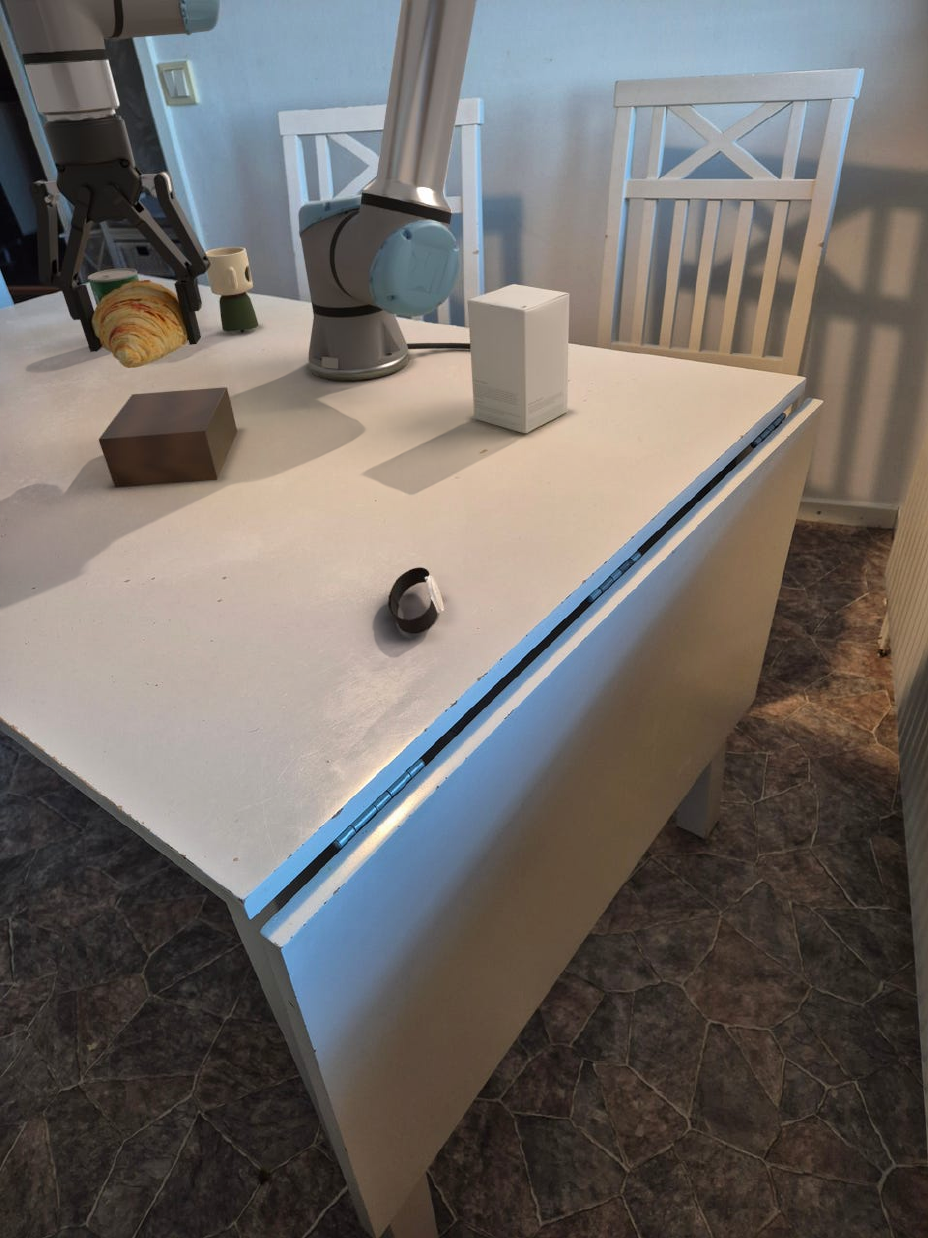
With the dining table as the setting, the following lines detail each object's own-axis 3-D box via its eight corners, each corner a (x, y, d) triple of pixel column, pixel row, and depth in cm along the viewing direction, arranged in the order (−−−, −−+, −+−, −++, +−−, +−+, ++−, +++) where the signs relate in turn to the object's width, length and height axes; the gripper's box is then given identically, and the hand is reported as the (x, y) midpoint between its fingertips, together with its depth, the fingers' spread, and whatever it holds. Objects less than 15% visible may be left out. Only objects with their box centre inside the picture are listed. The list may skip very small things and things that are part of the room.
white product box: (570, 412, 105) (573, 291, 96) (525, 435, 100) (524, 310, 91) (516, 397, 110) (514, 281, 101) (471, 418, 105) (465, 298, 96)
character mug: (267, 334, 140) (251, 254, 132) (225, 341, 138) (207, 260, 130) (256, 319, 148) (240, 242, 140) (216, 325, 146) (198, 248, 138)
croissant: (171, 404, 86) (191, 333, 82) (69, 371, 82) (84, 294, 78) (186, 341, 103) (203, 279, 99) (102, 310, 99) (116, 245, 95)
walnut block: (237, 431, 106) (227, 386, 102) (217, 479, 95) (205, 431, 91) (145, 438, 106) (132, 393, 102) (114, 487, 94) (98, 439, 91)
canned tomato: (137, 330, 146) (118, 266, 140) (164, 336, 142) (146, 270, 136) (99, 343, 141) (77, 276, 135) (126, 349, 137) (105, 281, 131)
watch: (446, 636, 68) (443, 601, 66) (390, 642, 67) (385, 606, 65) (441, 586, 74) (438, 552, 72) (389, 590, 74) (385, 556, 72)
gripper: (207, 104, 82) (252, 327, 95) (-21, 120, 82) (56, 341, 95) (191, 110, 76) (242, 347, 89) (-55, 127, 76) (32, 362, 89)
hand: (146, 344), depth 92 cm, fingers closed on croissant, 10 cm apart
